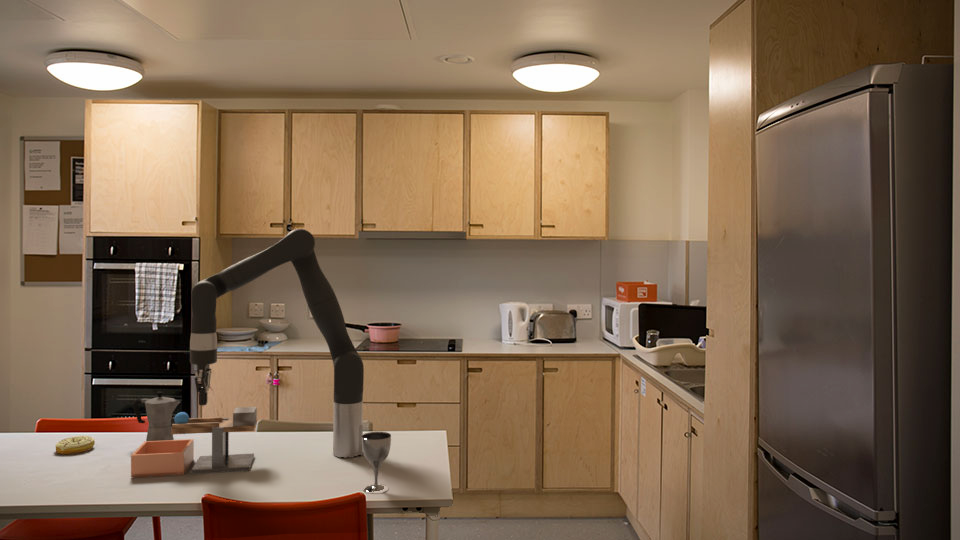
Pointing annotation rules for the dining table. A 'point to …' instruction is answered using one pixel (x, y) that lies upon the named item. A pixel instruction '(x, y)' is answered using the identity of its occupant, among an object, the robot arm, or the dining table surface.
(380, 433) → the wine glass
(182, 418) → the ball
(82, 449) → the decorated donut
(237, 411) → the lever
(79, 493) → the dining table surface
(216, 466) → the lever stand
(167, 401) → the coffeepot
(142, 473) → the cup
